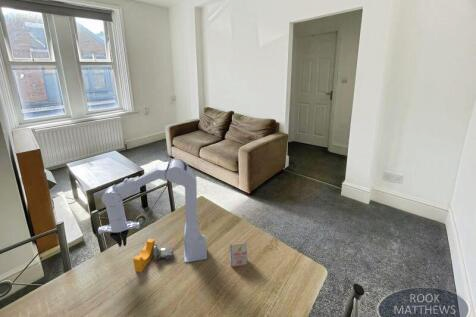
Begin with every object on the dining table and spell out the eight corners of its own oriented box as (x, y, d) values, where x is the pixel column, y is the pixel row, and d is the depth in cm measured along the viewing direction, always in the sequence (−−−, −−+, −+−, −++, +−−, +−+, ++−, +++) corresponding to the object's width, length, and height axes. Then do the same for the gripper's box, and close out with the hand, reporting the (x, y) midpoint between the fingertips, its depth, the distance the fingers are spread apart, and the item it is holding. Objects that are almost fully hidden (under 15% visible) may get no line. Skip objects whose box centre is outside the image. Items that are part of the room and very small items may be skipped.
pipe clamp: (147, 249, 107) (145, 238, 105) (156, 251, 107) (154, 239, 104) (131, 270, 96) (128, 258, 94) (141, 272, 95) (139, 259, 93)
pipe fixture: (172, 250, 107) (171, 239, 105) (172, 260, 101) (170, 248, 99) (155, 252, 105) (154, 241, 103) (155, 263, 100) (153, 251, 98)
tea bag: (229, 260, 102) (229, 241, 98) (245, 258, 103) (245, 239, 99) (231, 266, 98) (230, 247, 95) (247, 264, 99) (247, 245, 96)
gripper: (138, 208, 97) (143, 235, 102) (99, 213, 94) (105, 241, 98) (136, 218, 90) (141, 246, 95) (93, 223, 87) (101, 253, 92)
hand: (122, 244), depth 96 cm, fingers closed
